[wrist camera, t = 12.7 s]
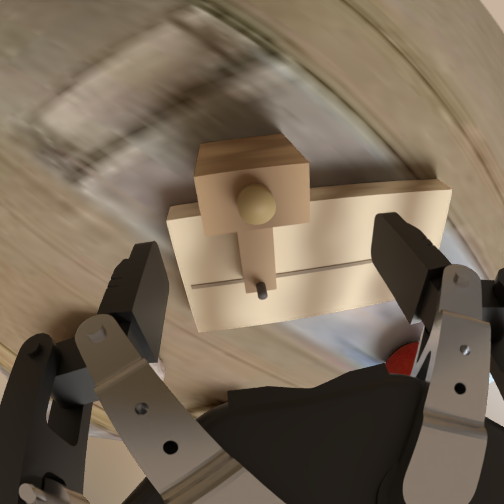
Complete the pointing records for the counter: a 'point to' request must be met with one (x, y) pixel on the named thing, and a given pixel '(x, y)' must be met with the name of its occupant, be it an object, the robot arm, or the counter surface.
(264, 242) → the block
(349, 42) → the counter surface
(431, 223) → the board
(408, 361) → the apple
